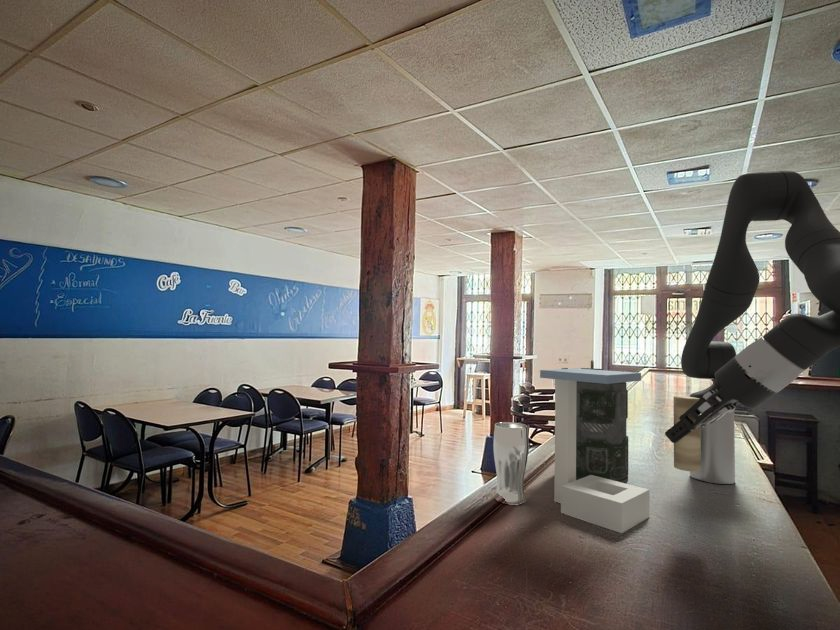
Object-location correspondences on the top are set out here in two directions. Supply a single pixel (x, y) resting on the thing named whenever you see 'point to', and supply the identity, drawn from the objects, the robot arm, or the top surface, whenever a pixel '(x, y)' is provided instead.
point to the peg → (687, 439)
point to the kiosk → (590, 494)
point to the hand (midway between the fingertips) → (674, 436)
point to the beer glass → (511, 460)
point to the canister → (601, 430)
